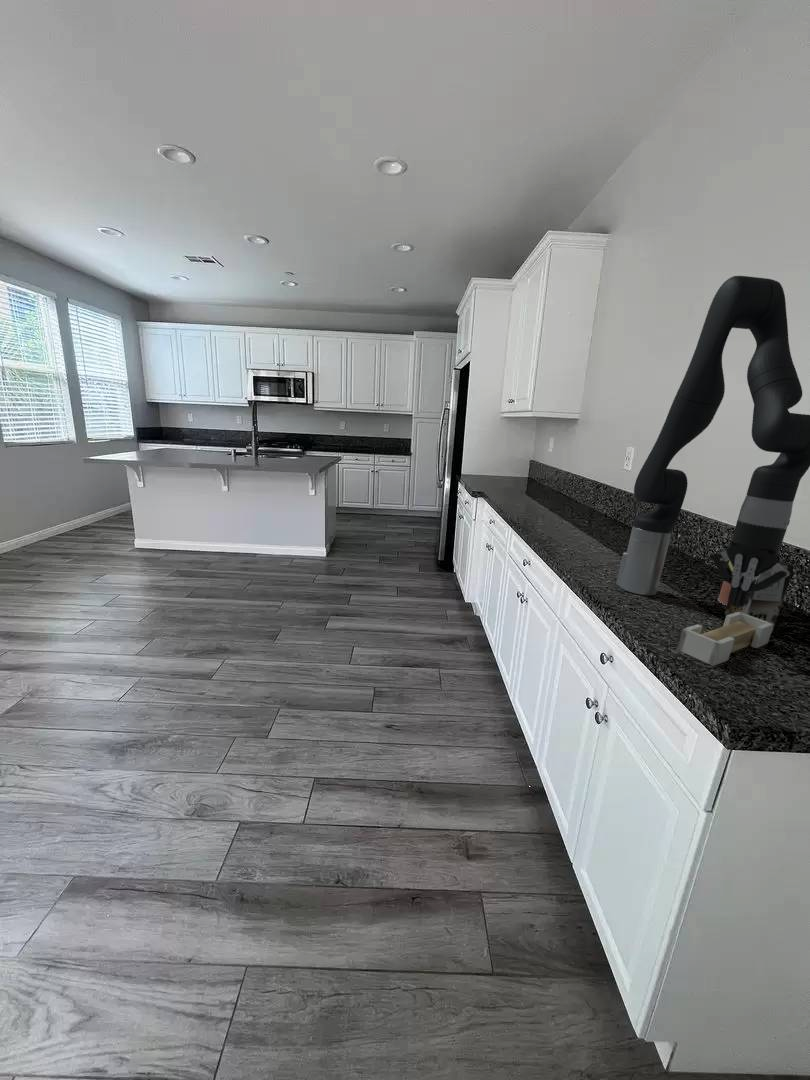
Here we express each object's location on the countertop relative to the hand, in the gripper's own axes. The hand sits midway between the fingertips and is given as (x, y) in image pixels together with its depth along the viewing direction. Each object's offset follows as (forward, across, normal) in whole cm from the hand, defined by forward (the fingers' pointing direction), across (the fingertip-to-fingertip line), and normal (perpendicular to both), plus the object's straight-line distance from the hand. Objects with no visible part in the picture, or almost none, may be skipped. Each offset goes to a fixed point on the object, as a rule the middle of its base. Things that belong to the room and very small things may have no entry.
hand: (736, 605), depth 87 cm
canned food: (+9, -10, +34) cm, 37 cm away
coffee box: (+9, -4, +21) cm, 23 cm away
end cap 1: (+9, 0, -9) cm, 13 cm away
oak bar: (+9, 0, -1) cm, 9 cm away
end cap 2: (+9, 0, +9) cm, 13 cm away
